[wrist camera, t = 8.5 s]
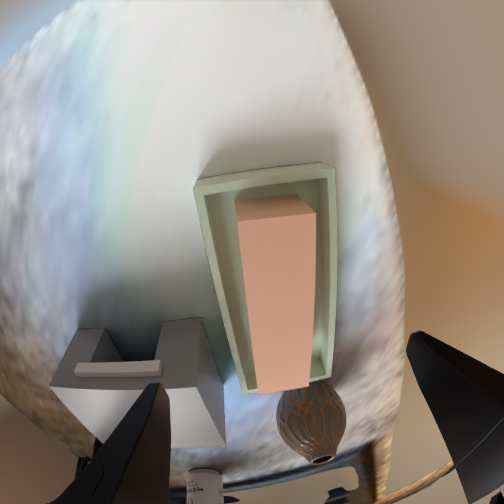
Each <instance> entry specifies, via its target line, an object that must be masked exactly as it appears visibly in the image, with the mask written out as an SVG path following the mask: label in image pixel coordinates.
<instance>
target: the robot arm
mask: <svg viewBox="0 0 504 504" xmlns="http://www.w3.org/2000/svg"><path fill="white" fill-rule="evenodd" d="M406 353H407V356H408V359H409V361H410V364H411V367H412V369H413V372H414V375H415V377H416V380H417V382H418V385H419V387H420V389H421V391H422V394H423V395H424V398H425V400H426V402H427V404H428V406H429V408H430V410H431V412H432V414H433V416H434V419H435V421H436V423H437V425H438V427H439V430H440V432H441V434H442V436H443V439H444V441H445V443H446V446H447V448H448V450H449V453H450V455H451V458H452V460H453V463H454V465H455V468H456V471H457V473H458V476H459V479H460V481H461V484H462V486H463V490H464V492H465V495H466V498H467V501H468V504H472V503H474V502H476V501H478V500H479V499H481V498H483V497H485V496H486V495H488V494H490V493H491V492H493V491H494V490H496V489H498V488H500V491H499V492H498V493H497V494H496V495H494V496H493V497H492V498H491V501H490V504H504V374H503V373H501V372H499V371H497V370H495V369H493V368H491V367H489V366H487V365H486V364H484V363H482V362H480V361H478V360H476V359H474V358H472V357H470V356H469V355H467V354H465V353H463V352H461V351H459V350H457V349H455V348H453V347H451V346H450V345H447V344H446V343H444V342H442V341H440V340H438V339H436V338H434V337H432V336H430V335H429V334H427V333H425V332H423V331H417V332H414V333H412V334H411V335H410V337H409V341H408V344H407V347H406ZM93 449H94V451H93V456H92V459H91V458H89V457H87V456H85V458H84V457H79V458H78V463H77V467H76V472H75V477H74V481H73V482H72V483H71V484H70V485H69V486H68V487H67V488H66V489H65V490H64V491H63V492H62V493H61V494H60V495H59V496H58V497H57V498H56V499H55V500H53V501H51V502H49V503H47V504H169V475H170V454H171V419H170V399H169V396H168V394H167V392H166V390H165V389H164V387H163V385H162V384H161V383H160V382H153V383H149V384H148V385H147V386H146V388H145V389H144V390H143V392H142V393H141V394H140V396H139V397H138V398H137V400H136V401H135V402H134V404H133V405H132V406H131V408H130V409H129V410H128V412H127V413H126V414H125V416H124V417H123V418H122V420H121V421H120V422H119V424H118V425H117V426H116V428H115V429H114V430H113V432H112V433H111V434H110V436H109V437H108V439H107V440H106V441H105V443H104V444H103V443H102V442H101V441H100V440H99V439H98V438H96V439H95V443H94V447H93Z"/></svg>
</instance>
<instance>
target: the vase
mask: <svg viewBox="0 0 504 504" xmlns="http://www.w3.org/2000/svg"><path fill="white" fill-rule="evenodd" d="M276 420H277V426H278V430H279V433H280V435H281V437H282V438H283V440H284V441H285V443H286V444H287V445H288V446H289V447H290V448H291V449H293V450H294V451H296V452H297V453H299V454H300V455H302V456H303V457H305V458H306V459H307V460H308V462H309V463H310V464H312V465H319V464H324V463H327V462H329V461H331V460H333V459H334V458H335V456H336V451H337V447H338V445H339V443H340V441H341V439H342V436H343V434H344V431H345V428H346V411H345V407H344V405H343V402H342V400H341V398H340V396H339V395H338V394H337V392H336V391H335V390H334V389H333V388H331V387H330V386H329V385H327V384H325V383H322V382H319V381H313V382H309V386H308V387H303V388H297V389H291V390H287V391H286V392H285V393H284V394H283V395H282V397H281V398H280V400H279V403H278V406H277V412H276Z"/></svg>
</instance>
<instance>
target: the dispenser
mask: <svg viewBox="0 0 504 504" xmlns="http://www.w3.org/2000/svg"><path fill="white" fill-rule="evenodd" d="M153 382H160V383H161V384H162V385H163V387H164V389H165V390H166V392H167V394H168V396H169V399H170V419H171V448H202V447H219V446H226V434H225V413H224V388H223V383H222V380H221V377H220V374H219V371H218V368H217V365H216V362H215V360H214V357H213V354H212V350H211V347H210V344H209V341H208V338H207V335H206V332H205V329H204V325H203V322H202V319H201V317H198V318H190V319H183V320H175V321H166V322H163V324H162V328H161V332H160V337H159V341H158V345H157V350H156V354H155V359H154V360H149V361H132V362H124V361H123V360H122V358H121V356H120V354H119V353H118V351H117V349H116V347H115V345H114V344H113V342H112V340H111V338H110V336H109V334H108V333H107V331H106V329H105V328H94V329H80V330H77V331H76V333H75V335H74V337H73V339H72V340H71V342H70V344H69V346H68V348H67V350H66V352H65V354H64V356H63V358H62V360H61V362H60V364H59V366H58V368H57V370H56V373H55V375H54V377H53V379H52V381H51V383H50V386H49V387H50V388H51V389H52V390H53V392H54V393H55V394H56V395H57V396H58V398H59V399H60V400H61V401H62V402H63V403H64V404H65V406H66V407H67V408H68V409H69V410H70V411H71V412H72V413H73V414H74V415H75V417H76V418H77V419H78V420H79V421H80V422H81V423H82V424H83V425H84V426H85V427H86V428H87V429H88V430H89V431H90V432H91V433H92V434H93V435H94V436H95V437H96V438H98V439H99V440H100V441H101V442H102V443H103V444H104V443H105V441H106V440H107V439H108V437H109V436H110V434H111V433H112V432H113V430H114V429H115V428H116V426H117V425H118V424H119V422H120V421H121V420H122V418H123V417H124V416H125V414H126V413H127V412H128V410H129V409H130V408H131V406H132V405H133V404H134V402H135V401H136V400H137V398H138V397H139V396H140V394H141V393H142V392H143V390H144V389H145V388H146V386H147V385H148V384H149V383H153Z"/></svg>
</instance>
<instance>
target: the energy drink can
mask: <svg viewBox="0 0 504 504" xmlns="http://www.w3.org/2000/svg"><path fill="white" fill-rule="evenodd" d="M187 504H224V499H223V482H222V477H221V476H220V475H219V473H218V472H217V471H215V470H210V469H195V470H192V471H191V472H190V474H189V475H187Z"/></svg>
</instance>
